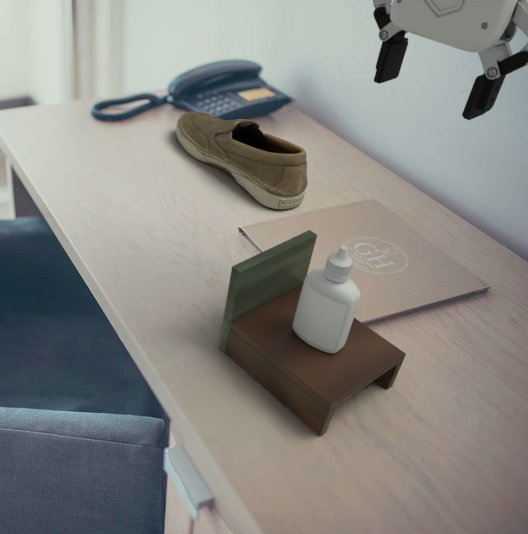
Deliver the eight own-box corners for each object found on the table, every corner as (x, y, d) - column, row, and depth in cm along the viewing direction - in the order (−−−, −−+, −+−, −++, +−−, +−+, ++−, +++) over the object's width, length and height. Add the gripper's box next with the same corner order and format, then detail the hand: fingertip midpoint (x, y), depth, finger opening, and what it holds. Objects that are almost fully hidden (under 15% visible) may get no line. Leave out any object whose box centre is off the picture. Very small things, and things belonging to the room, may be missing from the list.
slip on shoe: (164, 134, 116) (167, 87, 110) (217, 124, 120) (223, 78, 114) (257, 220, 95) (267, 166, 90) (318, 204, 99) (331, 152, 94)
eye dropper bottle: (311, 359, 66) (338, 268, 59) (287, 323, 70) (309, 233, 63) (348, 352, 67) (380, 262, 60) (323, 317, 71) (349, 228, 64)
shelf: (392, 385, 70) (427, 303, 63) (319, 437, 65) (348, 353, 57) (289, 308, 80) (309, 229, 72) (218, 347, 74) (231, 266, 67)
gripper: (376, -119, 55) (331, 75, 66) (585, -83, 44) (490, 142, 55) (428, -124, 58) (377, 61, 69) (632, -92, 48) (535, 121, 58)
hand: (427, 97), depth 62 cm, fingers open, 9 cm apart
